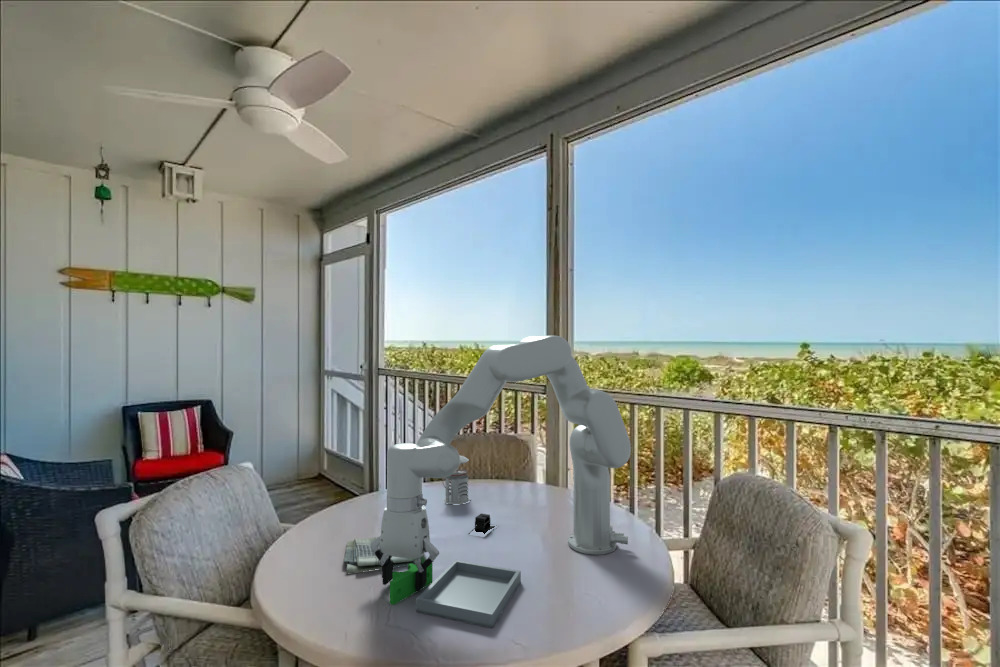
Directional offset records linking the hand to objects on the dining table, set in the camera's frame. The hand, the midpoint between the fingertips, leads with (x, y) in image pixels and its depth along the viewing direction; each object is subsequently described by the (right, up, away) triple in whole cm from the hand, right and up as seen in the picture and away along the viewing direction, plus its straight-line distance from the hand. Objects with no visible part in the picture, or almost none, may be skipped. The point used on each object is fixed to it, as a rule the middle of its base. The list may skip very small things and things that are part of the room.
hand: (404, 584), depth 100 cm
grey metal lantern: (+5, -3, +57) cm, 58 cm away
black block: (+16, -3, +32) cm, 36 cm away
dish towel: (-9, -2, +17) cm, 19 cm away
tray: (+15, -1, -3) cm, 15 cm away
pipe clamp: (+1, -1, -1) cm, 2 cm away
